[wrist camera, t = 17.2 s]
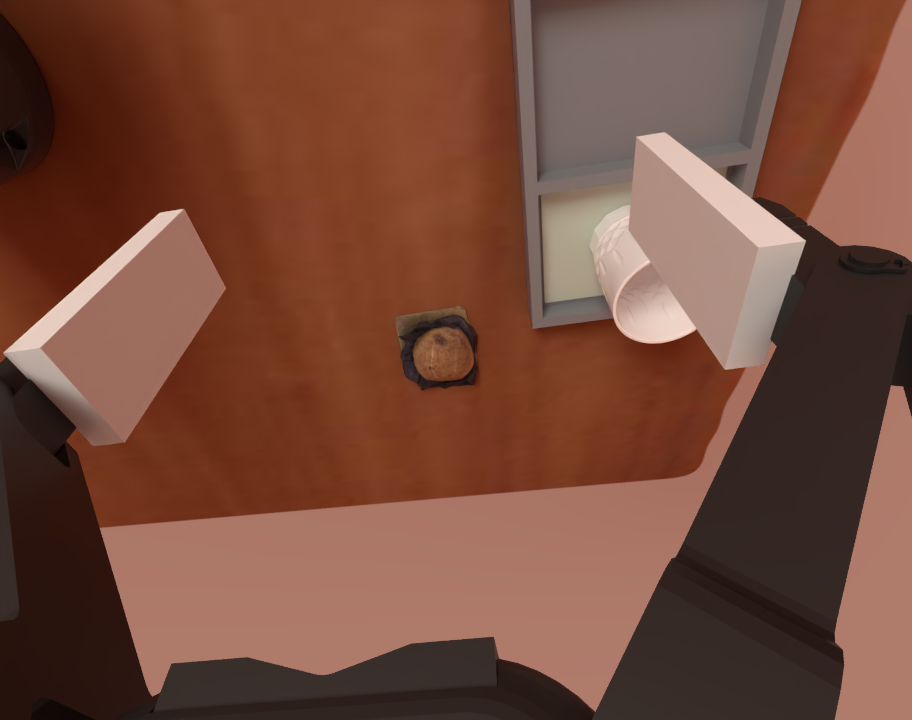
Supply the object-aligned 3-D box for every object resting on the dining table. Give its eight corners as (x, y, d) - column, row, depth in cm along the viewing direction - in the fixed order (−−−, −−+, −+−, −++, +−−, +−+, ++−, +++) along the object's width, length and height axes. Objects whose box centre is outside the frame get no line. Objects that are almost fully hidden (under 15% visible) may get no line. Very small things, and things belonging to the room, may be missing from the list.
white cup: (567, 265, 44) (593, 329, 36) (611, 183, 39) (652, 237, 32) (641, 288, 46) (681, 354, 38) (692, 212, 41) (749, 270, 33)
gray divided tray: (528, 311, 49) (532, 328, 46) (507, -29, 32) (512, -28, 29) (712, 286, 47) (725, 303, 45) (793, -83, 30) (823, -86, 28)
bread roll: (389, 312, 49) (386, 334, 46) (471, 301, 49) (473, 322, 46) (411, 388, 56) (409, 410, 53) (483, 379, 55) (485, 401, 52)
